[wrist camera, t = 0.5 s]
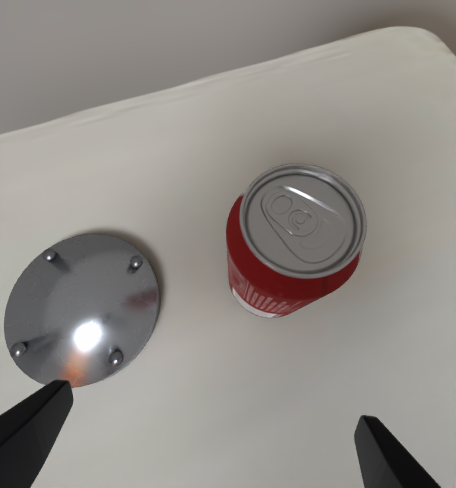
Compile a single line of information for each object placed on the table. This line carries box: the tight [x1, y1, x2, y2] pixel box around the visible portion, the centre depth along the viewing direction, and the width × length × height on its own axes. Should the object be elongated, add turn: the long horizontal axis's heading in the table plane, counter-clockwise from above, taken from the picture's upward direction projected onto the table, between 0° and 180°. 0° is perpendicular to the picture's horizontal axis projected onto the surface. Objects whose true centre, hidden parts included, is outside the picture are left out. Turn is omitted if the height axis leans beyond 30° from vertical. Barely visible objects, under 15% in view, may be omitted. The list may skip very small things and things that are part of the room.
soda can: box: [226, 163, 367, 318], centre depth 17 cm, size 7×7×12 cm
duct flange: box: [4, 234, 160, 388], centre depth 22 cm, size 12×12×1 cm
